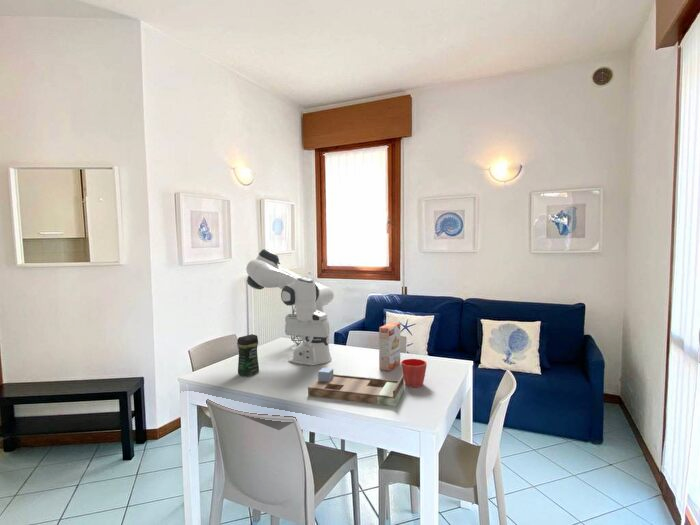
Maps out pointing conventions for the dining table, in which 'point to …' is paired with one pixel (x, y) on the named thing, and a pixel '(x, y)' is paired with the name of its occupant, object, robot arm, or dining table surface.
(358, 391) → the box
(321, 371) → the cube
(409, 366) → the flower pot
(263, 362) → the dining table surface
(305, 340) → the robot arm
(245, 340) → the coffee jar
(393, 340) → the cracker box
